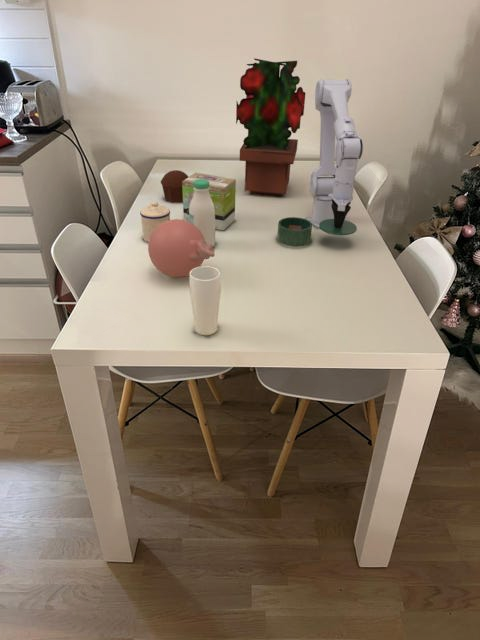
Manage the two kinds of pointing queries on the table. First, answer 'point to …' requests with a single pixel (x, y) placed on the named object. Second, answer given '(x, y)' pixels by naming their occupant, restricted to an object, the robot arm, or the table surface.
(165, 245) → the balloon
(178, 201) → the muffin
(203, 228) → the milk bottle
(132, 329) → the table surface
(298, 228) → the block
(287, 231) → the pot
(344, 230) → the lid
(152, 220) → the teacup with lid
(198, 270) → the drinking glass
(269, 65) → the potted plant
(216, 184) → the tea box
